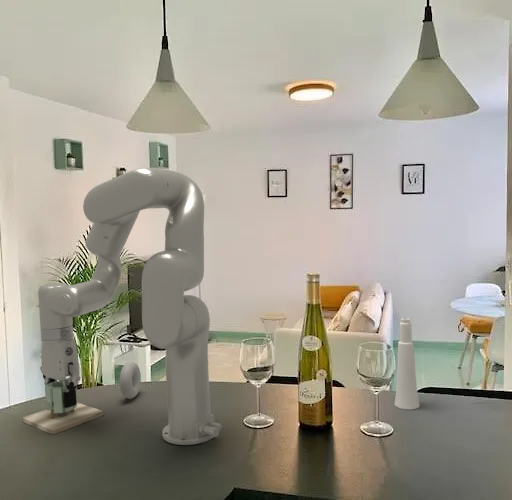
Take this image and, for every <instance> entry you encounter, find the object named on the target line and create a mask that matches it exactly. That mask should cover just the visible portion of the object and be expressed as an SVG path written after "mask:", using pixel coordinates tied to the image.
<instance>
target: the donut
mask: <svg viewBox="0 0 512 500" xmlns="http://www.w3.org/2000/svg"><path fill="white" fill-rule="evenodd" d="M141 382H142V375H141V370H140V366H139V365H138V363H136V362H134V361H128V362H125V364H124V365H122V368H121V371H120V374H119V391H120V393H121V395H122V397H124V398H125V399H128V400H130V399H134V398H135V397H136V396H137V395H138V393H139V391H140V388H141Z"/></svg>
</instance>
